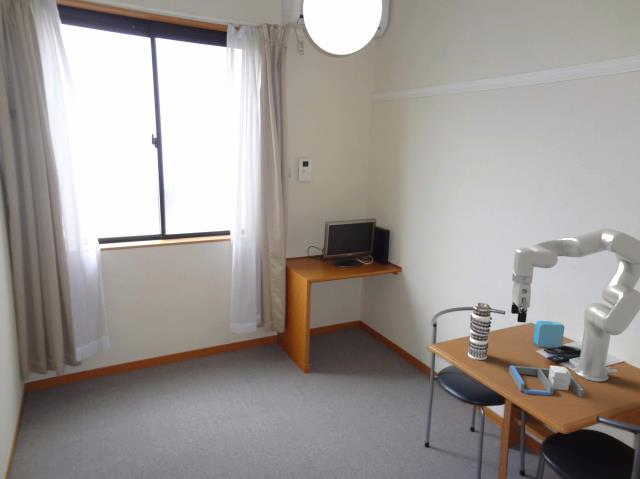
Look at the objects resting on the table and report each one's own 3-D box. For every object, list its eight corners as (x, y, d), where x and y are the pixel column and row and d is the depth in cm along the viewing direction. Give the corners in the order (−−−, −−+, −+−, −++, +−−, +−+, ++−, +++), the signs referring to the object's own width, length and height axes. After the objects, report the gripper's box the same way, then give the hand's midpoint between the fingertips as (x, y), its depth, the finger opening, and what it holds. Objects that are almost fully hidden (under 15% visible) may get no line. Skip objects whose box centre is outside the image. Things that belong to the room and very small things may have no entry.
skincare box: (547, 381, 184) (549, 365, 182) (563, 382, 183) (565, 366, 182) (552, 389, 178) (554, 372, 177) (568, 390, 177) (571, 373, 176)
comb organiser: (566, 376, 188) (567, 368, 187) (583, 398, 172) (585, 389, 171) (508, 371, 191) (509, 364, 190) (520, 392, 175) (521, 384, 174)
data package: (557, 344, 221) (560, 321, 218) (561, 348, 216) (565, 324, 214) (533, 343, 221) (535, 320, 219) (537, 347, 217) (540, 324, 214)
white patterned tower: (473, 349, 212) (477, 299, 207) (491, 356, 206) (496, 305, 201) (463, 355, 206) (467, 303, 201) (481, 362, 200) (487, 309, 195)
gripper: (538, 284, 172) (534, 326, 176) (525, 273, 189) (521, 311, 193) (518, 283, 174) (514, 325, 177) (507, 272, 190) (503, 310, 194)
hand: (518, 317), depth 185 cm, fingers open, 9 cm apart
